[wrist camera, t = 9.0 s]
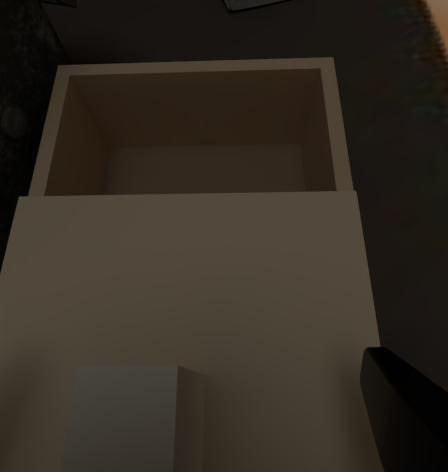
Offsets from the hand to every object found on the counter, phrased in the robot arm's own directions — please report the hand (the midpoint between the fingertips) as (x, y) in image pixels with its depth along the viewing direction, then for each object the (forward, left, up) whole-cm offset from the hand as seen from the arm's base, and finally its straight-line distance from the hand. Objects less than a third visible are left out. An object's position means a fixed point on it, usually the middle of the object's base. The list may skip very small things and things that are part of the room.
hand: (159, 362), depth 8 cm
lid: (+1, -1, -3) cm, 3 cm away
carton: (+6, -5, -9) cm, 12 cm away
